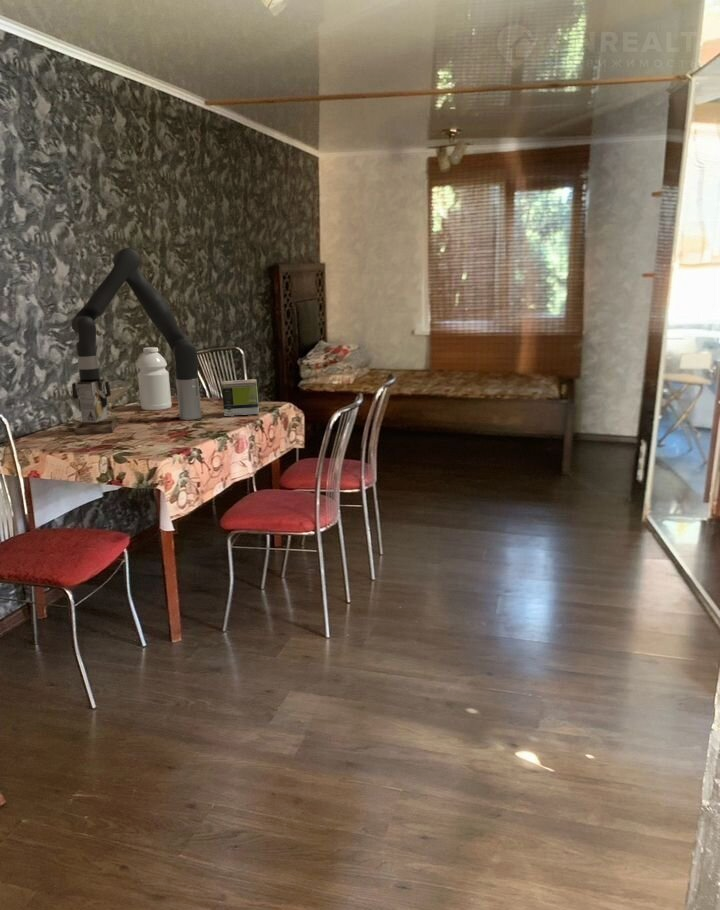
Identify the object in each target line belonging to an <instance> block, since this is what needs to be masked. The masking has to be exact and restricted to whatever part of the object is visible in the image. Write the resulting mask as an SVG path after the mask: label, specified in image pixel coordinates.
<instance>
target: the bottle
mask: <svg viewBox="0 0 720 910" xmlns="http://www.w3.org/2000/svg"><path fill="white" fill-rule="evenodd" d="M159 351H160V350H159V348H158V347H157V346H156V347H155V346H151V347H144V348H143V350H142V352H143V354H142V355H141V357H140V358H139V360H138V363H137V366H136V367H137V368H138V369H139V372H138V373H137V381H138V391H139V400H140V408H141V409H142V410H144V411H159V410H160V411H161V410H165V409H170V408H171V407H172V406H173V405H172V403H173V402H172V395H171V386H170V385H171V384H170V372H169V371H168V370H167V369H166V368H167V366H168V363H167V360H166V359H165V357H163V356H162V354H161V353H159Z"/></svg>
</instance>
